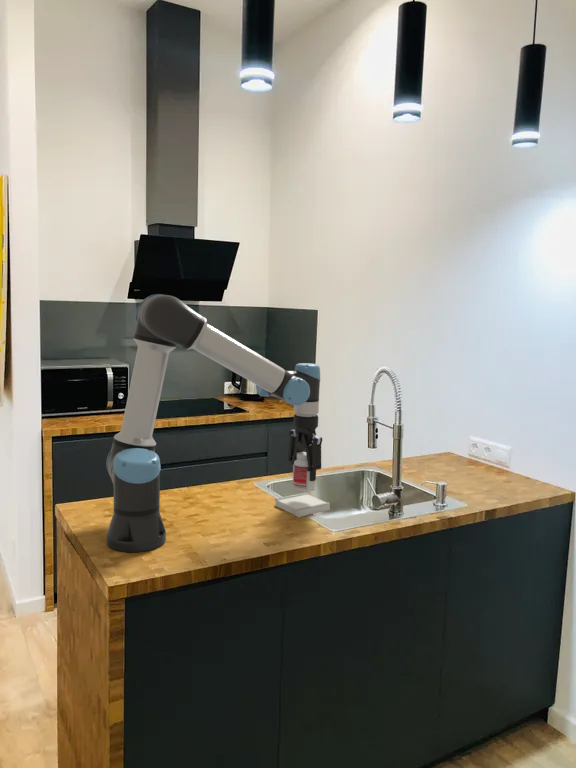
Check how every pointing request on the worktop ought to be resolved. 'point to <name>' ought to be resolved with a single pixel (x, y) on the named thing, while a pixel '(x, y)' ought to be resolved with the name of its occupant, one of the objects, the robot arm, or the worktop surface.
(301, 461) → the pill bottle
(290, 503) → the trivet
